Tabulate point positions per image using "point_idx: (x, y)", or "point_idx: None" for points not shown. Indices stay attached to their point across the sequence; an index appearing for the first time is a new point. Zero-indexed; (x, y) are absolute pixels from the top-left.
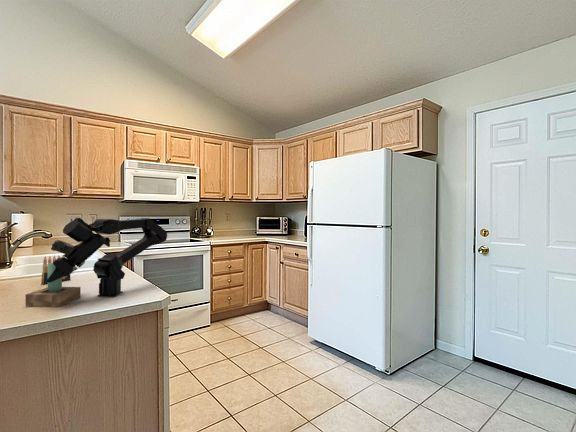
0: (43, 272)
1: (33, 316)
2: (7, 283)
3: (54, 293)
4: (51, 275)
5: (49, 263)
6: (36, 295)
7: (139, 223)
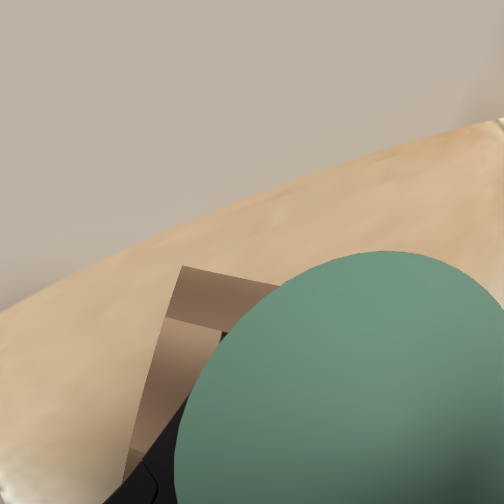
0: None
1: (24, 393)
2: (482, 127)
3: None
4: (163, 442)
5: (426, 269)
6: (161, 340)
7: None
